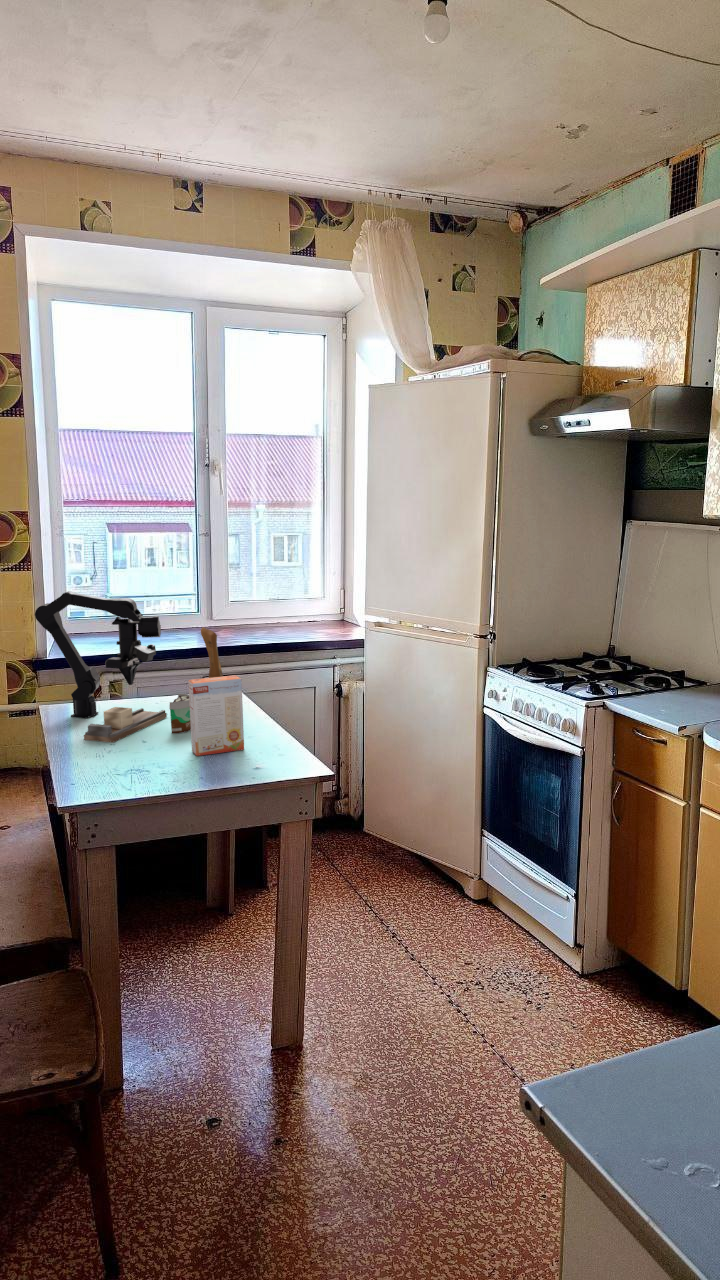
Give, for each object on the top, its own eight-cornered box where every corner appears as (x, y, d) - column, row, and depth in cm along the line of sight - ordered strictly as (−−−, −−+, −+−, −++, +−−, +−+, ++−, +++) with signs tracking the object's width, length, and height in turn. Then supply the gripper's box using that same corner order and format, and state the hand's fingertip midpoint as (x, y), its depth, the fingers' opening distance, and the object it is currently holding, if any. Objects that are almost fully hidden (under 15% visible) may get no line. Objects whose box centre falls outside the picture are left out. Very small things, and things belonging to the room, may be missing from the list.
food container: (190, 735, 260) (189, 702, 258) (170, 735, 260) (169, 702, 258) (199, 724, 272) (198, 693, 270) (179, 724, 272) (178, 693, 270)
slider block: (104, 727, 261) (103, 711, 260) (115, 722, 267) (115, 706, 266) (121, 729, 259) (120, 713, 259) (132, 724, 265) (131, 708, 264)
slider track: (84, 739, 255) (83, 725, 254) (139, 715, 283) (139, 701, 283) (113, 742, 252) (112, 727, 251) (166, 717, 280) (166, 703, 279)
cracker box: (238, 745, 249) (236, 674, 246) (244, 750, 244) (242, 678, 240) (190, 751, 244) (187, 678, 240) (195, 756, 238) (192, 682, 235)
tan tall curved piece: (209, 719, 278) (206, 633, 273) (202, 705, 296) (199, 624, 291) (230, 717, 279) (227, 632, 275) (222, 704, 297) (220, 623, 293)
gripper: (133, 643, 269) (136, 692, 271) (165, 634, 286) (167, 680, 289) (103, 642, 272) (105, 690, 275) (135, 632, 290) (138, 678, 292)
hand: (130, 684), depth 283 cm, fingers closed
